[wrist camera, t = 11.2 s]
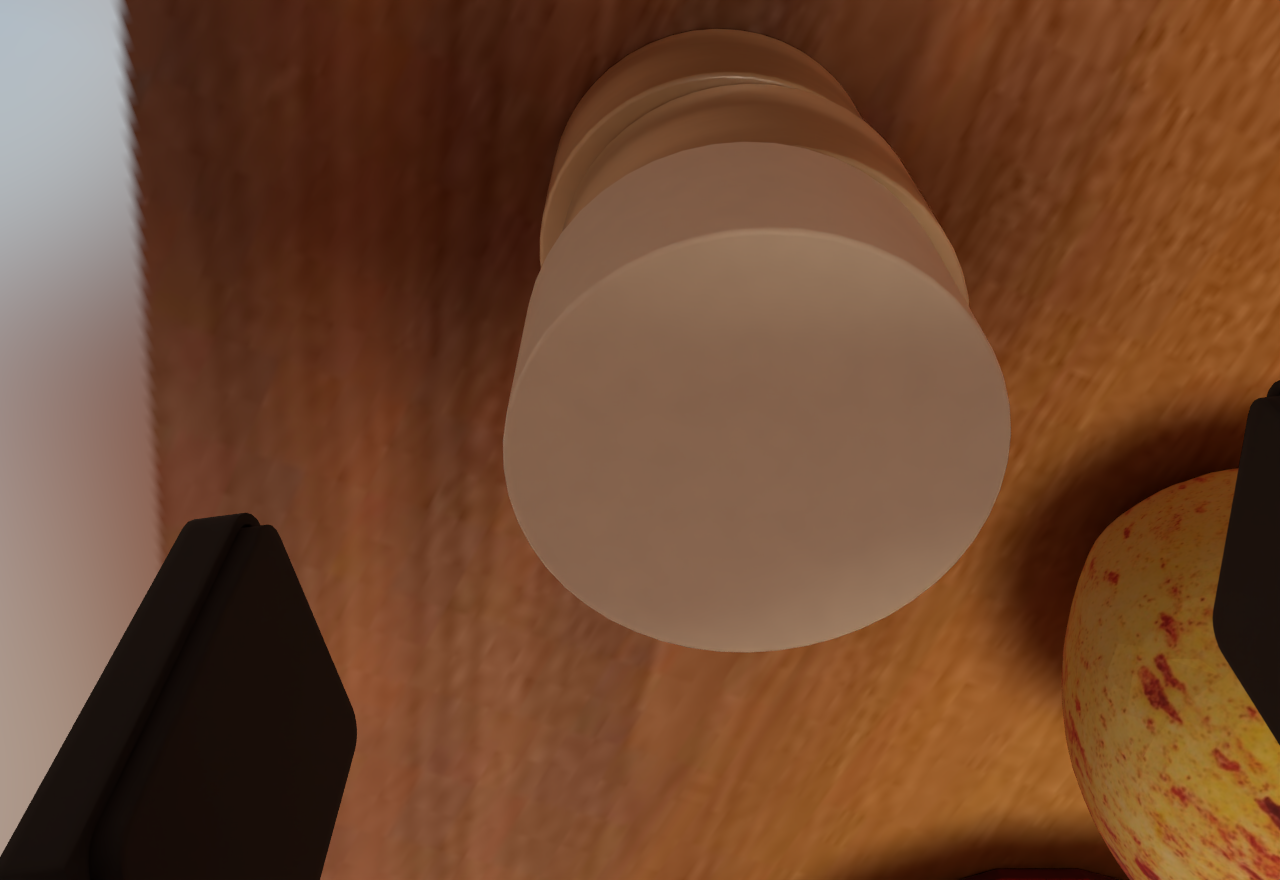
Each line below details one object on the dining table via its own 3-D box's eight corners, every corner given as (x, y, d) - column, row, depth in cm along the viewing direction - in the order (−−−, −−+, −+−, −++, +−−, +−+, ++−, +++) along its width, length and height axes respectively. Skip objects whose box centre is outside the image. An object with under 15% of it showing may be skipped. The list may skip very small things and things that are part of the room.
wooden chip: (568, 541, 17) (555, 677, 15) (482, 177, 14) (447, 271, 12) (951, 494, 17) (1006, 627, 14) (951, 106, 14) (1021, 189, 11)
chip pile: (584, 364, 23) (568, 545, 17) (521, 56, 19) (478, 170, 14) (894, 323, 22) (969, 498, 17) (884, -1, 19) (974, 95, 14)
